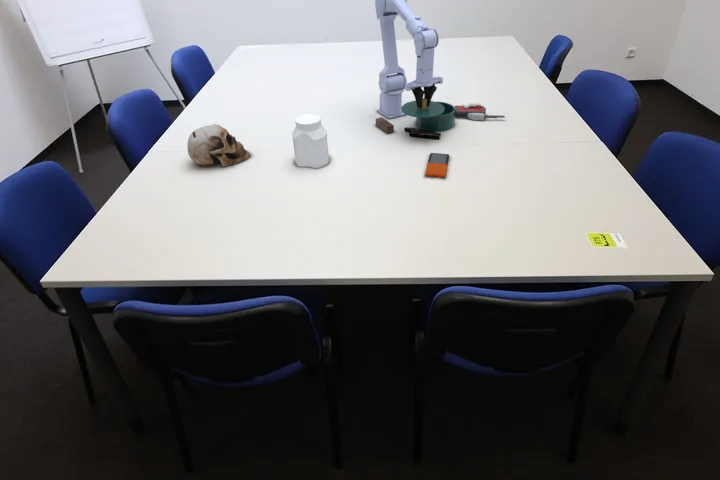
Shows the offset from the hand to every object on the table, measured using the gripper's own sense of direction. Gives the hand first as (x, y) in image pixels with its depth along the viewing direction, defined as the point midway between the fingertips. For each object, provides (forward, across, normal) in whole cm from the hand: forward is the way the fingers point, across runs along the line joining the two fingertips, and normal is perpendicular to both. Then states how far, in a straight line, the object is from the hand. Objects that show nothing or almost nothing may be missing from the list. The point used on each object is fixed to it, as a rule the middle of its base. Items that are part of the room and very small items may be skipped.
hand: (422, 106), depth 169 cm
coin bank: (+11, -70, +19) cm, 74 cm away
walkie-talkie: (+11, +28, +2) cm, 30 cm away
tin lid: (+1, 0, 0) cm, 1 cm away
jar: (+11, -44, +1) cm, 45 cm away
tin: (+10, +10, +5) cm, 15 cm away
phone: (+11, -10, -24) cm, 28 cm away
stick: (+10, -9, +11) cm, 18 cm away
